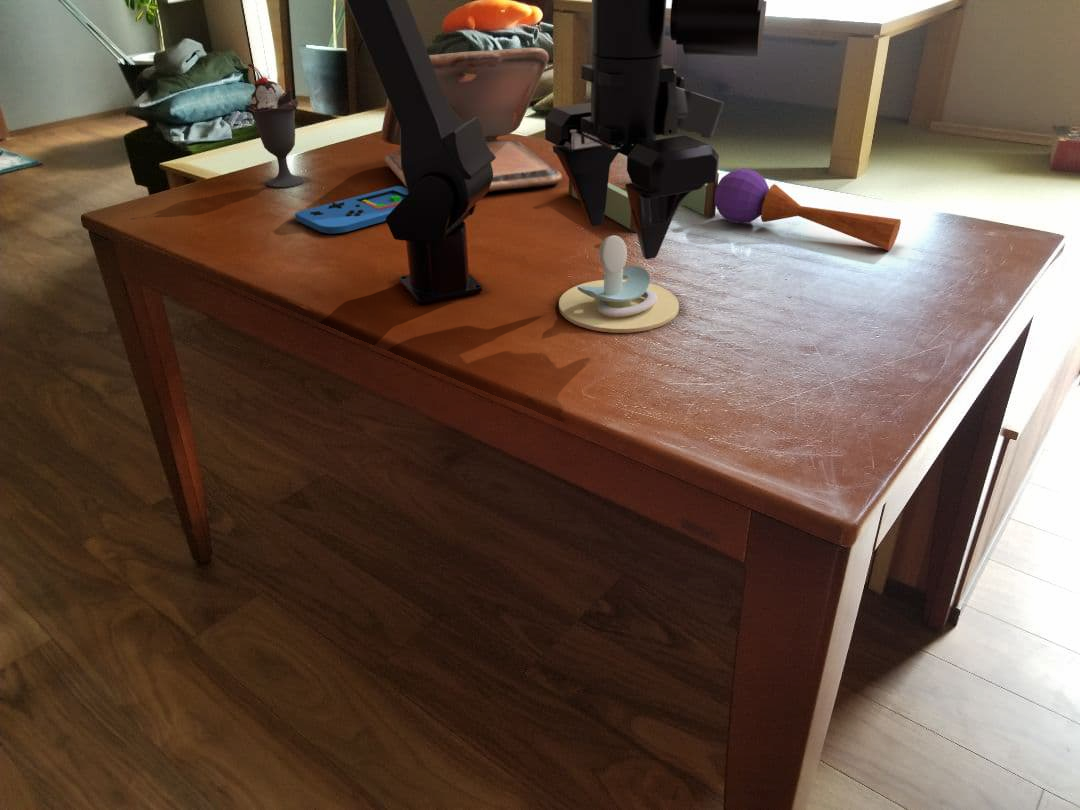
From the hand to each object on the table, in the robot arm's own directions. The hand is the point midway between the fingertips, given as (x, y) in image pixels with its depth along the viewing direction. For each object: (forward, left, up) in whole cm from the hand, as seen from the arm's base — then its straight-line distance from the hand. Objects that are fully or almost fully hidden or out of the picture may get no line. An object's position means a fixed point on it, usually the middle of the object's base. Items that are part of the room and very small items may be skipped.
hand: (622, 241), depth 77 cm
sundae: (+55, +19, -6) cm, 59 cm away
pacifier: (0, 0, -6) cm, 6 cm away
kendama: (+7, -27, -6) cm, 29 cm away
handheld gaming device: (+37, +13, -6) cm, 40 cm away
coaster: (0, 0, -6) cm, 6 cm away
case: (+46, -4, -6) cm, 47 cm away
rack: (+24, -17, -6) cm, 30 cm away
